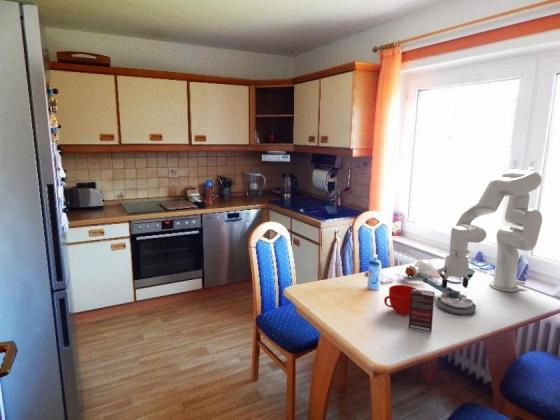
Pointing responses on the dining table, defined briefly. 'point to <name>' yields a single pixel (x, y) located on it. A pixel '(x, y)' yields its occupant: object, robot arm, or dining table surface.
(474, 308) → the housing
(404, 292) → the ceramic cup
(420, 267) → the potion bottle
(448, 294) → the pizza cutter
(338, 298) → the dining table surface
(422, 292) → the supplement box
